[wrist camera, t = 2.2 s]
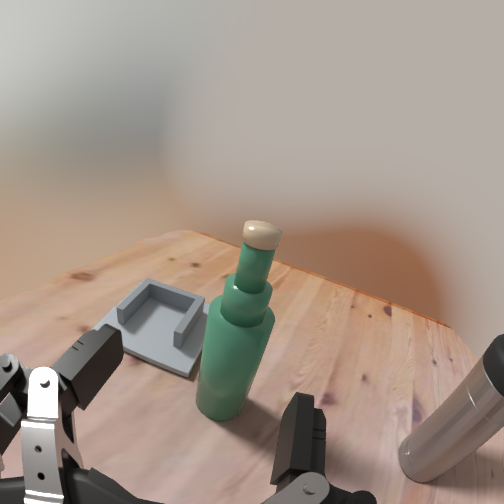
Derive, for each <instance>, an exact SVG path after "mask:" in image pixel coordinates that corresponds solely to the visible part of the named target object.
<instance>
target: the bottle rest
mask: <svg viewBox="0 0 504 504" xmlns="http://www.w3.org/2000/svg"><path fill="white" fill-rule="evenodd" d="M204 302H205V297H202V296H199V295H196V294H193V293H190V292H187V291H184V290H181V289H178V288H175V287H172V286H169V285H166V284H163V283H160V282H158V281H155V280H152V279H149V278H147V279H146V280H145V281H142V282H141V283H140V284H138V285H137V286H136V287H135V288H134V289H133V290H132V291H131V292H130V293H129V294H128V295H127V296H126V297H124V298H123V299H122V300H121V301H120V302H119V303H118V304H117V305H116V306H115V307H114V308H113V309H112V310H111V311H110V312H109V313H108V314H107V315H106V316H105V317H104V318H103V319H102V320H100V321H99V322H98V323H97V324H96V325H95V326H94V327H93V328H92V329H91V330H93V329H95V330H97V331H98V330H99V329H100V328H101V327H102V326H103V325H104V324H109V325H111V326H113V327H115V328H117V329H119V330H121V333H122V342H123V351H125V352H128V353H130V354H132V355H134V356H136V357H138V358H140V359H143V360H145V361H147V362H150V363H152V364H154V365H157V366H159V367H161V368H164V369H166V370H169V371H171V372H174V373H176V374H179V375H181V376H184V377H187V378H188V377H189V375H190V373H191V371H192V369H193V367H194V365H195V363H196V361H197V359H198V357H199V355H200V353H201V351H202V349H203V343H204V337H205V330H206V324H207V317H208V311H209V306H210V304H207V303H204Z"/></svg>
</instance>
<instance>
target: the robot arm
mask: <svg viewBox="0 0 504 504" xmlns="http://www.w3.org/2000/svg"><path fill="white" fill-rule="evenodd" d="M123 355H124V351H123V342H122V333H121V330H119V329H117V328H115V327H113V326H111V325H109V324H104V325H103V326H102V327H101V328H100V329H99V330H98V331H97V330H95V329H93V330H91V331H88V332H86V333H84V334H83V335H82V336H81V337H80V338H79V339H78V340H77V342H75V343H74V344H73V345H72V347H70V348H69V349H68V350H67V351H66V352H65V353H64V354H63V355H62V356H61V357H60V358H59V359H58V360H57V361H56V362H55V363H54V364H53V365H52V366H51V367H50V368H45V367H42V368H38V369H36V370H33V369H31V368H28V367H25V366H23V365H20V363H19V361H18V359H17V357H16V356H15V355H13V354H10V353H6V354H3V355H1V356H0V403H1V402H2V400H3V399H4V398H5V397H6V395H7V394H8V393H9V392H10V394H9V395H8V396H7V397H6V399H5V400H4V401H3V402H2V404H1V405H0V504H163V503H158V502H153V501H148V500H143V499H139V498H136V497H135V496H133V495H132V494H131V493H129V492H128V491H127V490H125V489H124V488H123V487H122V486H120V485H119V484H118V483H117V482H116V481H114V480H113V479H111V478H109V477H107V476H106V475H104V474H102V473H100V472H99V471H97V470H95V469H94V468H91V469H90V470H87V469H84V465H83V461H82V457H81V454H80V452H79V449H78V445H77V438H76V430H75V419H74V411H73V410H74V409H75V408H76V406H78V407H79V408H81V409H82V410H85V409H86V407H87V406H88V405H89V403H90V402H91V401H92V399H93V398H94V397H95V396H96V394H97V393H98V392H99V390H100V389H101V388H102V386H103V385H104V384H105V382H106V381H107V380H108V379H109V377H110V376H111V375H112V373H113V372H114V371H115V370H116V368H117V367H118V366H119V364H120V363H121V361H122V359H123ZM503 426H504V334H502V335H499V336H497V337H496V338H495V339H494V341H493V342H492V343H491V344H490V346H489V347H488V349H487V350H486V351H485V353H484V354H483V356H482V357H481V358H480V360H479V361H478V362H477V364H476V365H475V366H474V368H473V369H472V370H471V371H470V373H469V374H468V375H467V376H466V378H465V379H464V380H463V381H462V382H461V384H460V385H459V386H458V387H457V388H456V389H455V391H454V392H453V393H452V394H451V395H450V396H449V397H448V398H447V399H446V400H445V401H444V403H443V404H442V405H441V406H440V407H439V408H438V409H437V410H436V411H435V412H434V413H433V414H432V415H431V416H430V417H429V418H428V419H427V420H425V421H424V422H423V423H422V424H421V425H420V426H419V427H418V428H417V429H416V430H415V431H413V432H412V433H411V434H410V435H409V436H408V437H407V438H405V439H404V441H403V442H402V444H401V446H400V450H399V461H400V465H401V467H402V470H403V471H404V472H405V474H406V475H407V476H408V477H409V478H411V479H412V480H414V481H417V482H423V483H425V482H430V481H432V480H434V479H436V478H437V477H439V476H440V475H442V474H444V473H445V472H447V471H448V470H450V469H451V468H453V467H454V466H456V465H457V464H458V463H460V462H461V461H463V460H464V459H465V458H467V457H468V456H469V455H471V454H472V453H473V452H474V451H476V450H477V449H478V448H479V447H481V446H482V445H483V444H484V443H485V442H487V441H488V440H489V439H490V438H491V437H492V436H493V435H495V434H496V433H497V432H498V431H499V430H500V429H501V428H502V427H503ZM20 428H21V445H22V462H23V473H24V476H21V477H14V478H4V479H1V471H3V470H4V468H5V467H4V464H3V459H2V455H3V453H4V452H5V450H6V449H7V447H8V446H9V444H10V443H11V441H12V440H13V438H14V437H15V435H16V434H17V432H18V431H19V429H20ZM325 439H326V418H325V416H324V413H323V411H322V409H317V408H314V396H313V395H308V394H304V393H299V392H296V393H295V395H294V396H293V398H292V400H291V401H290V403H289V404H288V406H287V408H286V409H285V411H284V414H283V416H282V420H281V425H280V432H279V438H278V443H277V449H276V455H275V460H274V466H273V471H272V476H271V481H270V484H272V485H277V489H276V493H275V494H273V495H272V496H271V497H269V498H268V499H267V500H265V501H264V502H262V503H261V504H377V501H376V498H375V497H374V495H373V494H371V493H370V492H368V491H363V490H362V491H356V492H354V493H351V492H348V491H345V490H342V489H339V488H337V487H334V486H333V485H331V484H330V483H329V482H328V480H327V479H326V476H325V473H324V467H325V447H326V441H325Z"/></svg>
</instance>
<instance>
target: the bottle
mask: <svg viewBox="0 0 504 504" xmlns="http://www.w3.org/2000/svg"><path fill="white" fill-rule="evenodd" d="M281 235H282V230H281V229H280V228H279V227H277V226H275V225H273V224H270V223H267V222H263V221H256V220H250V221H247V222H245V225H244V230H243V235H242V241H243V243H242V248H241V252H240V257H239V262H238V266H237V271H236V273H234V274H231V275H229V276H228V277H227V279H226V282H225V287H224V292H223V295H221V296H218V297H216V298H215V299H214V300H213V301H212V302H211V303H210V306H209V311H208V317H207V324H206V330H205V337H204V343H203V350H202V357H201V364H200V371H199V379H198V386H197V394H196V404H197V407H198V409H199V410H200V411H201V412H202V413H203V414H204V415H205V416H206V417H208V418H210V419H213V420H217V421H227V420H231V419H233V418H235V417H237V416H238V415H239V414H240V413H241V411H242V409H243V406H244V404H245V401H246V398H247V396H248V393H249V391H250V388H251V386H252V383H253V380H254V378H255V375H256V372H257V370H258V367H259V364H260V362H261V359H262V356H263V353H264V351H265V348H266V345H267V342H268V340H269V337H270V334H271V331H272V328H273V325H274V322H275V316H274V314H273V312H272V310H271V309H270V308H269V306H268V304H269V301H270V298H271V294H272V291H273V290H272V286H271V285H270V283H269V282H268V281H267V278H268V275H269V271H270V267H271V264H272V260H273V256H274V253H275V250H276V249H277V248H278V246H279V242H280V238H281Z"/></svg>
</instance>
